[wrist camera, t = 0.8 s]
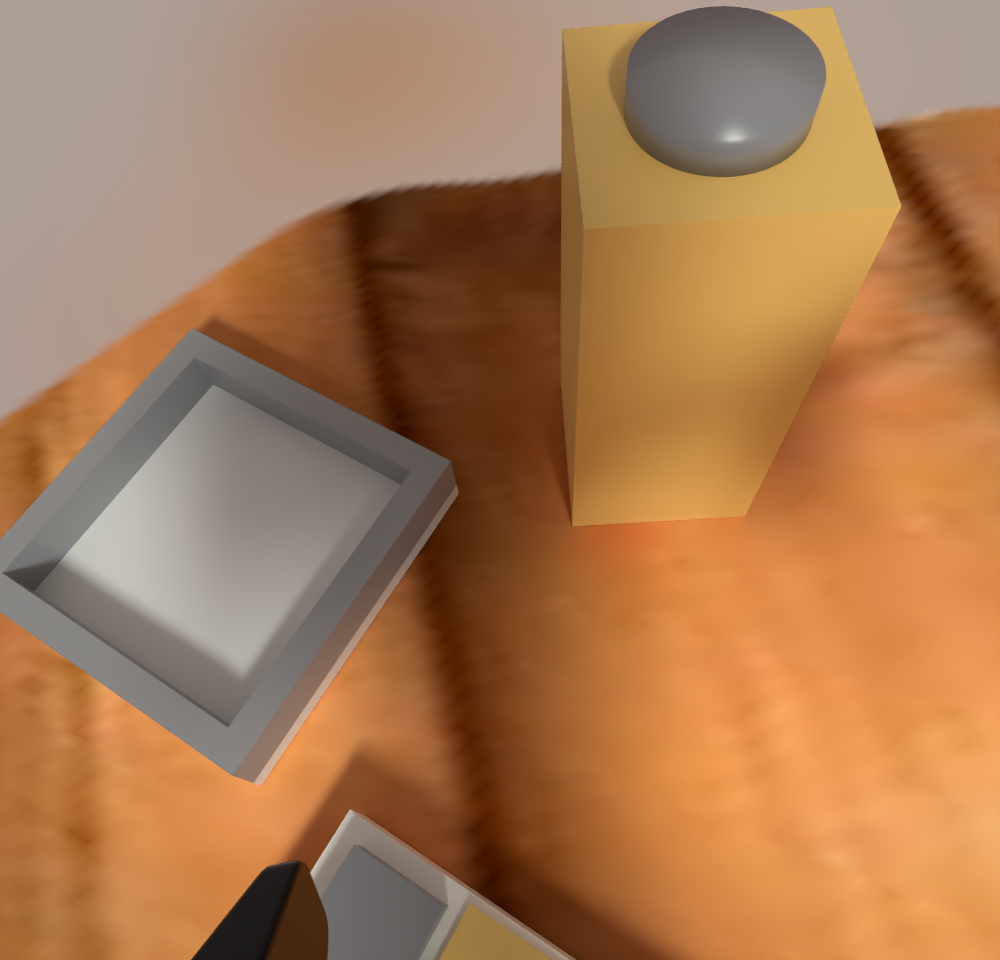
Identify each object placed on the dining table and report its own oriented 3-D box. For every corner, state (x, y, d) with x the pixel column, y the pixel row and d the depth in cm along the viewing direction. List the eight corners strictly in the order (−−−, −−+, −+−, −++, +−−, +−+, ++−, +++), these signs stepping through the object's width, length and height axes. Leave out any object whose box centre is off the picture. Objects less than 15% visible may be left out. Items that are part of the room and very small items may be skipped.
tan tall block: (744, 516, 23) (921, 166, 12) (572, 526, 24) (585, 190, 12) (717, 373, 26) (845, -38, 14) (560, 383, 26) (562, -13, 15)
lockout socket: (261, 785, 21) (232, 775, 19) (7, 607, 24) (-40, 583, 22) (459, 493, 24) (450, 460, 22) (217, 367, 27) (191, 328, 25)
